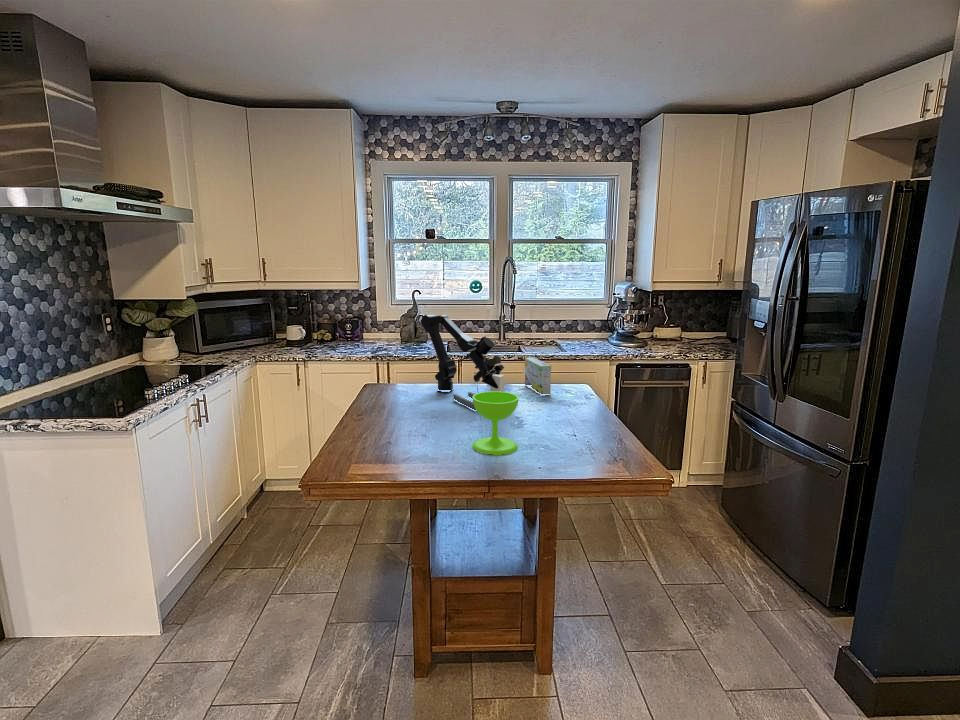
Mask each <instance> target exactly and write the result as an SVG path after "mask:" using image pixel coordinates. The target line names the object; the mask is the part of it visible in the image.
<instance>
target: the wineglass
mask: <svg viewBox="0 0 960 720" xmlns="http://www.w3.org/2000/svg"><path fill="white" fill-rule="evenodd" d="M474 394H475V395H473V397H472V399H473V404H474V407H475V409H476V410H477V412H476V413H478V414H479V415H480V416H481V417H482V418H484V419H485V420H490V421H492V423H491V424H492V425H491V426H492V427H491V428H492V429H491V431H492V432H491V433H492V434H491V435H492V436H489V437H483V438H480V439H477V440H476V441H474V442H473V444H472V446H473V448H474V449H475V450H476V451H479V452H482V453H485V454H494V455H493V456H503V455H502V454H507V455H509V454H508V453H511V454H513V453H515V452H516V451H518V449H517V448H518V447H519V446H518V445H517V443H516V442H515V441H514V440H511V439H509V438H506V437H499V436H498V435H499V421H502V420H505V419H507V418H508V417H510V416H511V415H513V413H514V412H515V411H516V409H517V407H518V405H519V401H520V400H519V399H520V398H519V395H517V394H515V393H512V392H506V391H504V392H499V391H491V390H489V391H483V392H477V393H474ZM472 446H471V447H472ZM473 448H472V449H473ZM476 451H475V452H476ZM514 451H515V452H514ZM512 452H513V453H512ZM485 454H484V455H485Z"/></svg>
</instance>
